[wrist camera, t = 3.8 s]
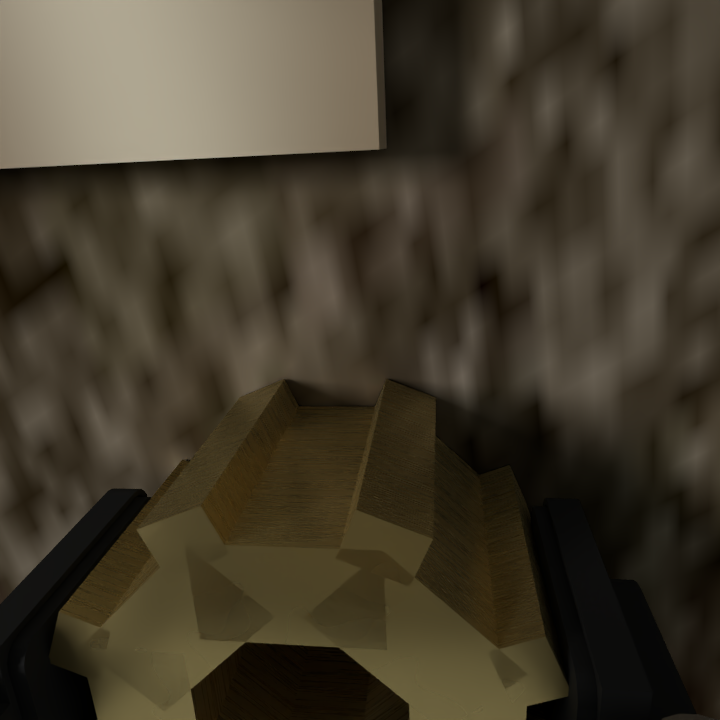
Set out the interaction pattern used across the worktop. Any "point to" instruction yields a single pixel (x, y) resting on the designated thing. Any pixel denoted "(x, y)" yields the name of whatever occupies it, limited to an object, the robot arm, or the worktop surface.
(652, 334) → the worktop surface
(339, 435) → the brass gear
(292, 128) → the gear board
